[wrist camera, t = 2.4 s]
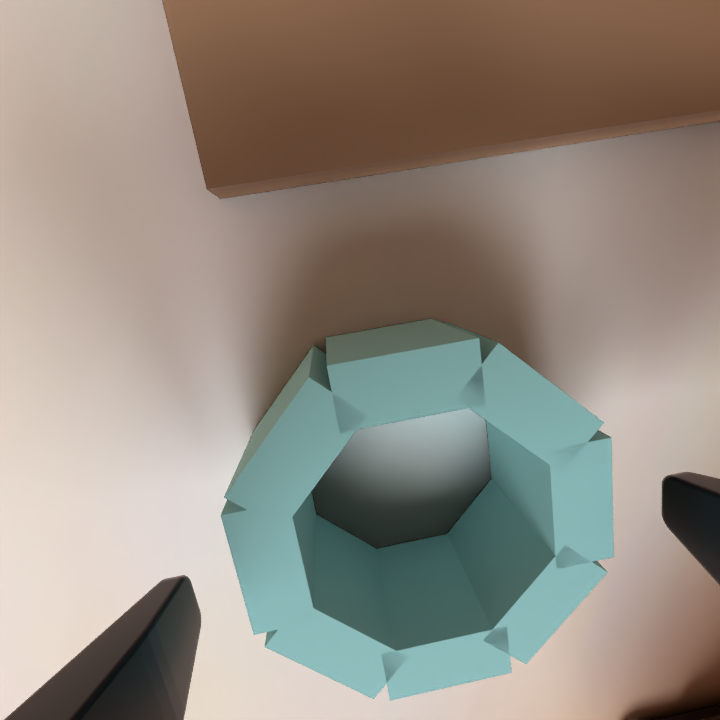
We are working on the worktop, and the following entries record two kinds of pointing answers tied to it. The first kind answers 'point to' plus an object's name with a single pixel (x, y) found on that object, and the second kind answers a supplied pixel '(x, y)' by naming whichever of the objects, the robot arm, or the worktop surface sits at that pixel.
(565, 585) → the ring
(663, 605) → the worktop surface
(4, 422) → the worktop surface
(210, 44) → the post stand
